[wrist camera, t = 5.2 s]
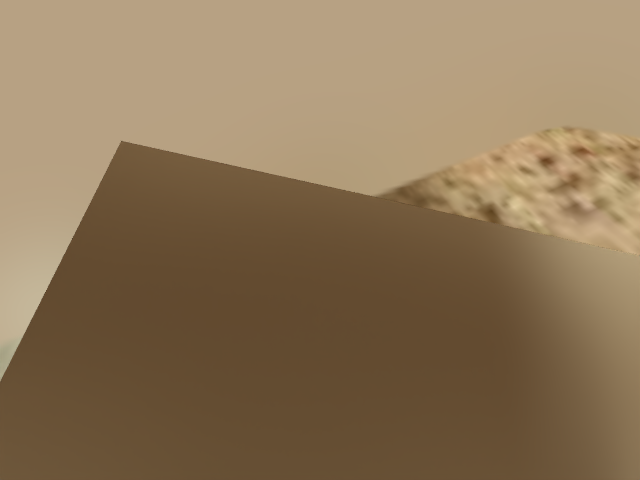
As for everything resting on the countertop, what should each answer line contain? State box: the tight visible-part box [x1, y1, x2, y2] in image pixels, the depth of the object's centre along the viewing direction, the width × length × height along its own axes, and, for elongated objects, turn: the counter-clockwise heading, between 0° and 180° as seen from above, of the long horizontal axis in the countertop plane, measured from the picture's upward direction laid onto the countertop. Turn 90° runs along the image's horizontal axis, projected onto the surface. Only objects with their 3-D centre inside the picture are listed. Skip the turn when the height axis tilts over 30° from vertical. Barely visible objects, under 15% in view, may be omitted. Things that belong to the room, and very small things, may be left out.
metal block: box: [0, 141, 640, 480], centre depth 8 cm, size 5×5×12 cm
